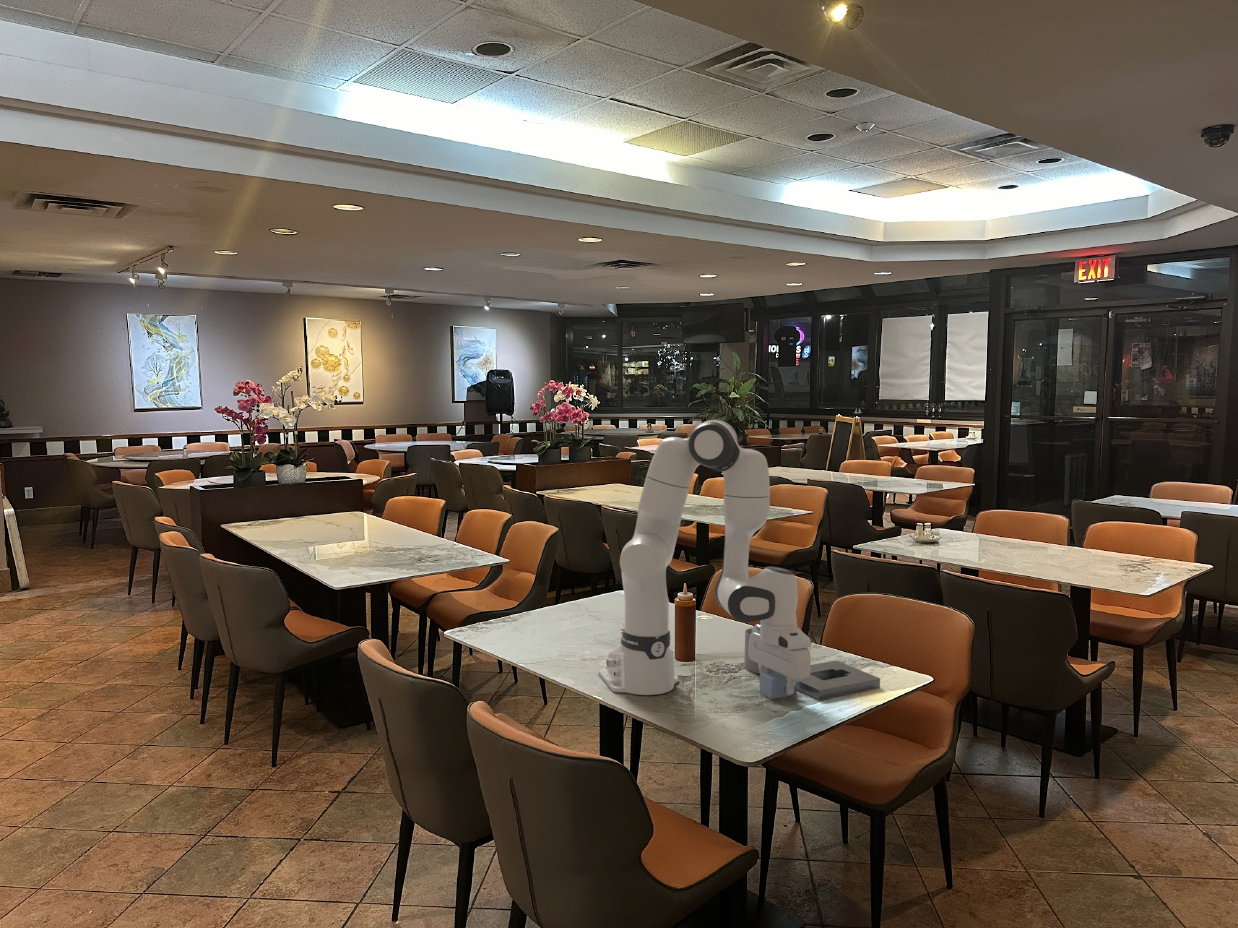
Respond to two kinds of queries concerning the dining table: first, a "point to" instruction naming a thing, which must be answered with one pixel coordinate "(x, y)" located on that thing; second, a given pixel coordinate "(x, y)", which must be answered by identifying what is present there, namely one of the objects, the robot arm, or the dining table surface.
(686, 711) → the dining table surface
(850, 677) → the frame
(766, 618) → the robot arm
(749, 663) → the cup
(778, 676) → the block
